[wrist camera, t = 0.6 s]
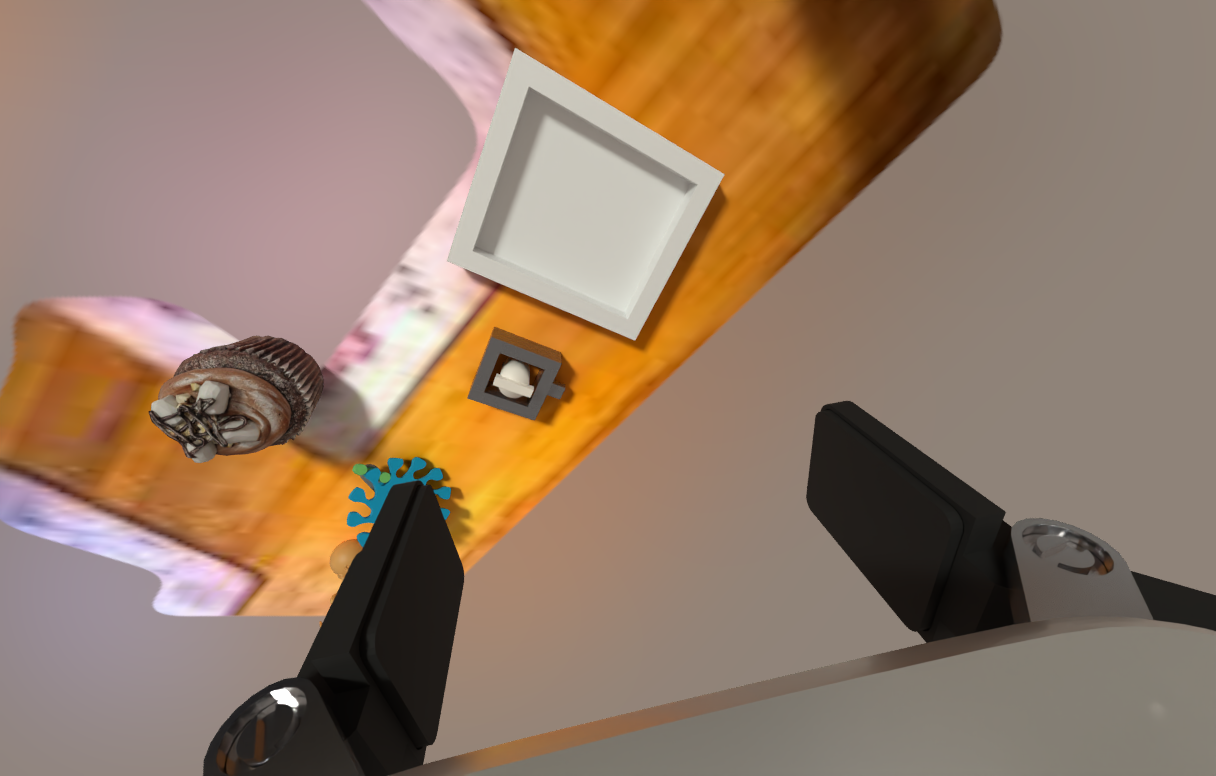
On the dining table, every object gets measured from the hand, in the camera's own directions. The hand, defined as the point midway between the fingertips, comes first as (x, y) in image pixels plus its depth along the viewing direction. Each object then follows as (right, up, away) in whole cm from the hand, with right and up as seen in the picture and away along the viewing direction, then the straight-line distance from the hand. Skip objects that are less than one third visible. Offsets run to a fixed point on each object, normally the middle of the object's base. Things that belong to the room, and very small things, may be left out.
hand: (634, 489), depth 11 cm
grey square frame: (-10, +4, +33) cm, 35 cm away
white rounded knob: (-10, +4, +33) cm, 35 cm away
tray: (-3, +17, +27) cm, 32 cm away
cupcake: (-32, +4, +30) cm, 44 cm away
